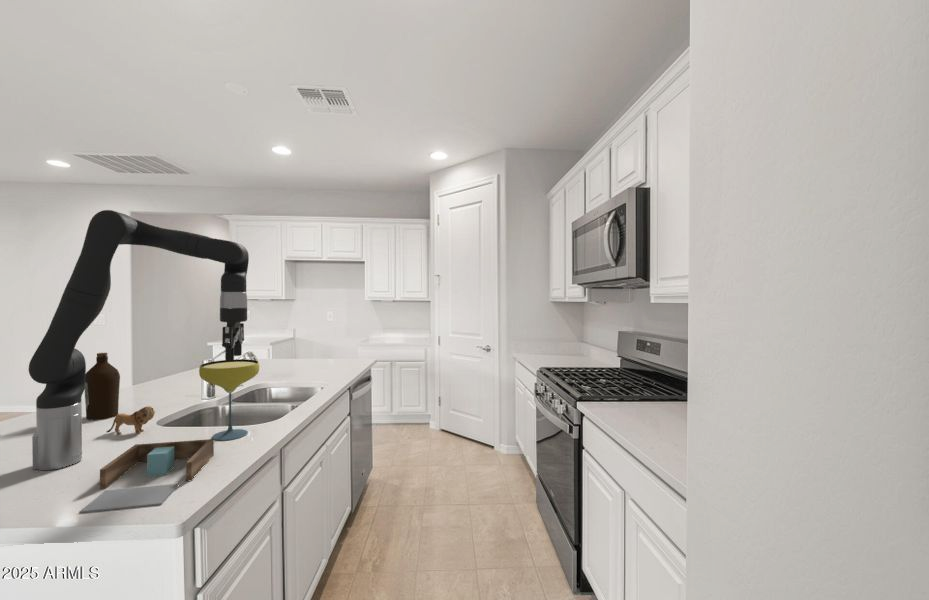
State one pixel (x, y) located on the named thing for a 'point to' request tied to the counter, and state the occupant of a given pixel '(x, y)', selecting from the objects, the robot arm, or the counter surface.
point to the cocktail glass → (229, 385)
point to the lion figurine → (134, 419)
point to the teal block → (160, 461)
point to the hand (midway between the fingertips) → (233, 357)
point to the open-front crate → (138, 453)
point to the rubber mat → (130, 498)
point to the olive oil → (102, 389)
